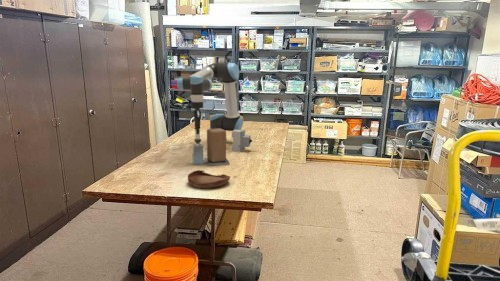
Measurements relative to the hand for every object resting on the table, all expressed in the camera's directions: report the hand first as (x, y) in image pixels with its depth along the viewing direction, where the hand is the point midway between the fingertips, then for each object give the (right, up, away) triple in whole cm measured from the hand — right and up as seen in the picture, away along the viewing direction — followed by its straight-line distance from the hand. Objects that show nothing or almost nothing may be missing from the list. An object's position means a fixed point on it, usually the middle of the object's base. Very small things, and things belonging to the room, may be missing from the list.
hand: (197, 138), depth 213 cm
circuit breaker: (+27, -9, +38) cm, 47 cm away
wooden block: (+11, -14, +7) cm, 19 cm away
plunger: (0, -9, +2) cm, 10 cm away
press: (+7, -15, +6) cm, 18 cm away
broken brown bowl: (+11, -24, -32) cm, 41 cm away
